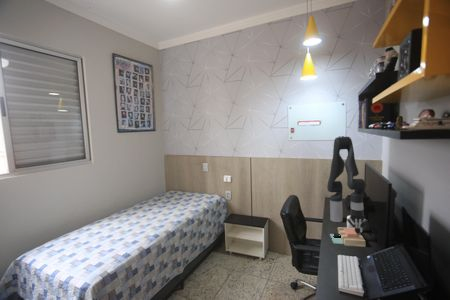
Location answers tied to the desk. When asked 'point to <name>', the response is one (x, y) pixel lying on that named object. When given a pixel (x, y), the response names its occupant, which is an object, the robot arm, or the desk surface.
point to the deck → (351, 238)
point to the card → (350, 232)
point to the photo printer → (352, 223)
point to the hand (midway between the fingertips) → (357, 232)
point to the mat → (336, 240)
